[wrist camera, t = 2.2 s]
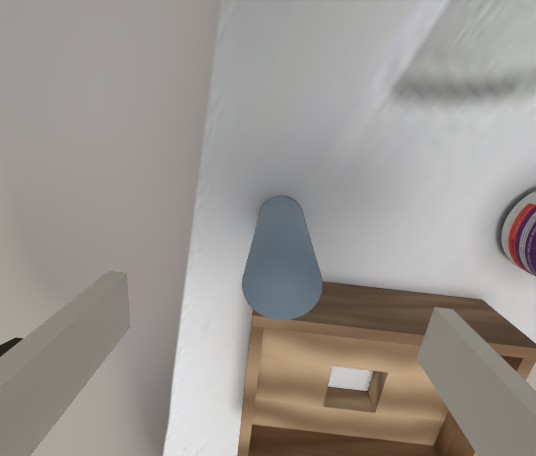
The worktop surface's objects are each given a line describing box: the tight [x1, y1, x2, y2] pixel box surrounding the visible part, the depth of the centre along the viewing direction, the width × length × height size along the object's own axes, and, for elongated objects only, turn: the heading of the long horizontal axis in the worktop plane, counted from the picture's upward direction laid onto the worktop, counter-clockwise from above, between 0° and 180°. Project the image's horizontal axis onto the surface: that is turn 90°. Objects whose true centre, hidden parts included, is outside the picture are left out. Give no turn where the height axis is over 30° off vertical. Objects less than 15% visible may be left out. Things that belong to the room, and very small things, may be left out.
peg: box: [242, 196, 322, 320], centre depth 19 cm, size 4×4×12 cm
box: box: [237, 282, 536, 456], centre depth 27 cm, size 18×22×6 cm
